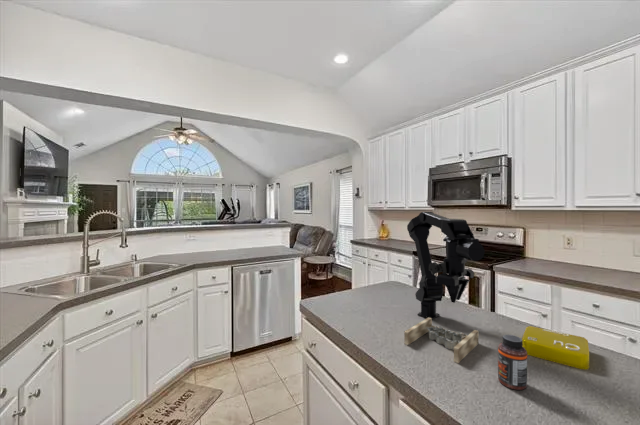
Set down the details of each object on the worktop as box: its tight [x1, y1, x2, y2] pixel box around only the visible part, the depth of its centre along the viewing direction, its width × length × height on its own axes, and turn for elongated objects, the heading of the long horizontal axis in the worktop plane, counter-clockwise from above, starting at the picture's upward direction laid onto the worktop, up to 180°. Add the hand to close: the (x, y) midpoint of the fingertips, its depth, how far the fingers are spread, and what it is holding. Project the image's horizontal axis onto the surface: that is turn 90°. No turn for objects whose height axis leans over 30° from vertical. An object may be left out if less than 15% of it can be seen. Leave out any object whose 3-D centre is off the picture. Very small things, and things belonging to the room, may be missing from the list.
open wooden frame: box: [403, 317, 480, 364], centre depth 92 cm, size 17×16×4 cm
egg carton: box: [427, 326, 467, 351], centre depth 94 cm, size 11×8×4 cm
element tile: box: [521, 325, 590, 371], centre depth 87 cm, size 15×15×5 cm
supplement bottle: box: [497, 334, 528, 391], centre depth 71 cm, size 6×6×11 cm
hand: (455, 301), depth 100 cm, fingers open, 4 cm apart
